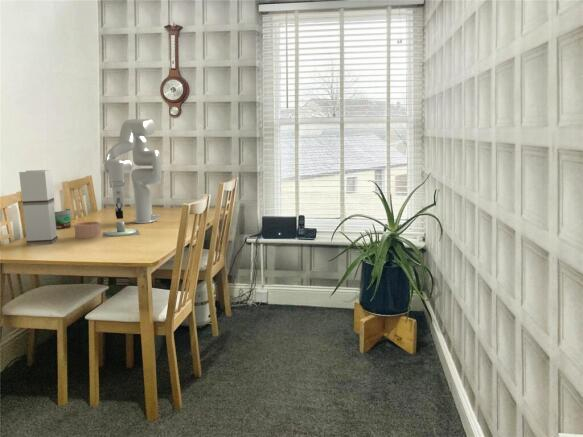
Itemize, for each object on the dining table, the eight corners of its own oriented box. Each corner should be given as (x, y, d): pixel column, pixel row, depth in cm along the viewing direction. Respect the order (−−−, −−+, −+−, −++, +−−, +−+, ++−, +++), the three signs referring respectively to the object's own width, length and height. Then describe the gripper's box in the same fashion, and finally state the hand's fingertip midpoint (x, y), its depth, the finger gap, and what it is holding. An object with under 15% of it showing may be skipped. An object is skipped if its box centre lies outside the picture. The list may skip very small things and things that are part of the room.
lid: (135, 229, 284) (134, 218, 283) (137, 234, 270) (136, 223, 269) (105, 232, 279) (104, 221, 278) (106, 237, 265) (105, 225, 264)
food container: (64, 229, 293) (62, 212, 291) (54, 229, 294) (52, 211, 293) (77, 225, 305) (76, 208, 303) (68, 225, 306) (66, 208, 305)
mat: (137, 230, 285) (137, 229, 285) (140, 235, 270) (140, 234, 270) (102, 233, 279) (102, 232, 279) (103, 238, 264) (103, 237, 264)
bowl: (100, 233, 278) (99, 220, 277) (101, 237, 267) (99, 224, 266) (76, 235, 274) (74, 222, 273) (75, 240, 263) (74, 226, 262)
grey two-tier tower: (57, 239, 266) (51, 169, 260) (52, 243, 255) (44, 171, 250) (33, 240, 264) (26, 170, 258) (26, 245, 253) (19, 172, 248)
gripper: (125, 185, 264) (128, 219, 266) (124, 183, 280) (126, 215, 282) (110, 185, 261) (112, 220, 263) (109, 183, 277) (111, 216, 279)
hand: (119, 217), depth 273 cm, fingers open, 9 cm apart
